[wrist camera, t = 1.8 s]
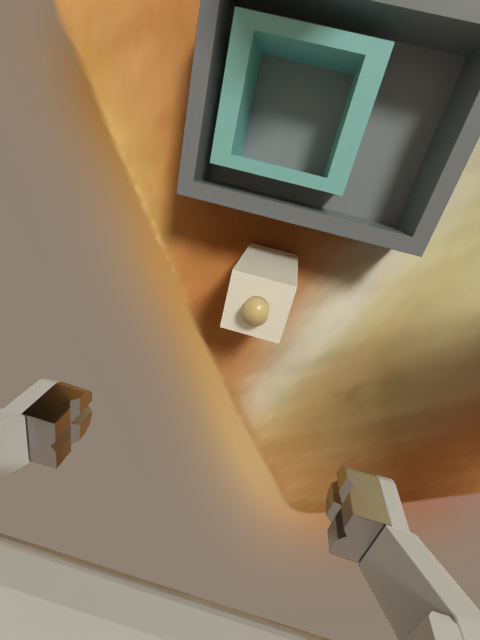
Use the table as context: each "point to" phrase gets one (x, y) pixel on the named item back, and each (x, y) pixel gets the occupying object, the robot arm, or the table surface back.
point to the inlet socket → (306, 47)
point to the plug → (261, 292)
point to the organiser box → (325, 114)
